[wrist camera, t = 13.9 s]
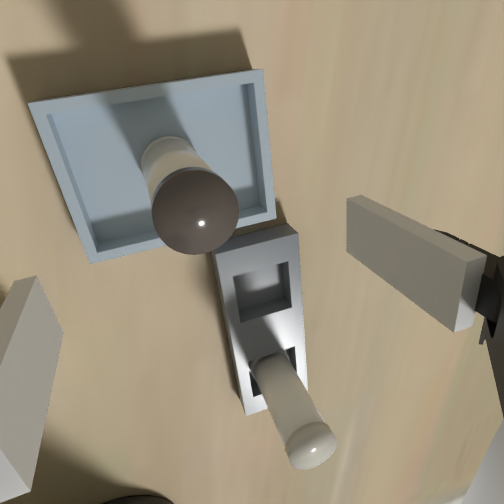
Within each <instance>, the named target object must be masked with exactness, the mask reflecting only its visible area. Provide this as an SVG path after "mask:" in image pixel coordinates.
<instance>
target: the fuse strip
mask: <svg viewBox="0 0 504 504" xmlns="http://www.w3.org/2000/svg"><path fill="white" fill-rule="evenodd" d="M211 253H212V259H213V264H214V269H215V274H216V279H217V284H218V289H219V294H220V299H221V305H222V310H223V315H224V320H225V325H226V330H227V335H228V340H229V345H230V351H231V356H232V361H233V366H234V371H235V376H236V381H237V386H238V391H239V397H240V401H241V403H242V406H243V409H244V412H245V414H246V416H248V415H251V414H253V413H256V412H259V411H262V410H264V409H267V408H268V407H267V405H266V403H265V400H264V398H263V396H262V393H261V391H260V389H259V387H258V384H257V382H256V380H255V379H254V377H253V375H252V373H251V370H250V368H249V361H252V360H255V359H258V358H261V357H264V356H267V355H270V354H273V353H276V352H279V351H282V350H285V352H286V354H287V355H288V357H289V360H290V362H291V364H292V366H293V367H294V369H295V371H296V373H297V374H298V376H299V378H300V379H301V381H302V383H303V385H304V386H305V388H306V390H307V391H308V386H307V370H306V353H305V337H304V320H303V304H302V287H301V270H300V254H299V237H298V232H296V231H295V230H294V229H293V228H292V227H291V226H290V225H289V224H288V223H287V224H283V225H279V226H275V227H271V228H267V229H263V230H259V231H255V232H251V233H247V234H243V235H239V236H235V237H231V238H229V239H228V240H227V241H226V242H225V243H224V244H223V245H221V246H220V247H219V248H217V249H215V250H213V251H211Z"/></svg>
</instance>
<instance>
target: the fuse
mask: <svg viewBox="0 0 504 504" xmlns="http://www.w3.org/2000/svg"><path fill="white" fill-rule="evenodd" d="M249 368H250V370H251V373H252V375H253V377H254V379H255V380H256V382H257V384H258V387H259V389H260V391H261V393H262V396H263V398H264V400H265V403H266V405H267V407H268V409H269V412H270V414H271V416H272V419H273V421H274V423H275V425H276V428H277V430H278V432H279V435H280V437H281V439H282V441H283V444H284V446H285V451H286V453H287V456H288V458H289V460H290V463H291V465H292V466H293V467H294V468H296V469H301V470H304V469H310V468H313V467H315V466H318V465H319V464H321V463H323V462H324V461H326V460H327V459H328V458H329V457H330V456H331V455H332V454H333V452H334V451H335V449H336V446H337V439H336V437H335V436H334V434H333V432H332V431H331V429H330V427H329V426H328V425H327V424H326V422H325V421H324V419H323V417H322V416H321V414H320V412H319V410H318V409H317V407H316V405H315V403H314V402H313V400H312V398H311V397H310V395H309V393H308V391H307V390H306V388H305V386H304V385H303V383H302V381H301V379H300V378H299V376H298V374H297V373H296V371H295V369H294V367H293V366H292V364H291V362H290V360H289V357H288V355H287V354H286V352H285V350H282V351H279V352H276V353H273V354H270V355H267V356H264V357H261V358H258V359H255V360H252V361H249Z"/></svg>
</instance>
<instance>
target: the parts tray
mask: <svg viewBox="0 0 504 504" xmlns="http://www.w3.org/2000/svg"><path fill="white" fill-rule="evenodd" d="M28 106H29V108H30V111H31V114H32V116H33V119H34V121H35V124H36V126H37V129H38V132H39V134H40V137H41V139H42V142H43V144H44V147H45V150H46V152H47V155H48V157H49V160H50V162H51V165H52V168H53V170H54V173H55V175H56V178H57V180H58V183H59V186H60V188H61V191H62V193H63V196H64V198H65V201H66V204H67V206H68V209H69V211H70V214H71V216H72V219H73V222H74V224H75V227H76V229H77V232H78V234H79V237H80V240H81V242H82V245H83V247H84V250H85V252H86V255H87V258H88V260H89V263H90V264H92V263H96V262H101V261H105V260H109V259H113V258H117V257H121V256H125V255H129V254H133V253H137V252H141V251H145V250H150V249H154V248H158V247H162V246H166V244H165V243H164V242H163V241H162V240H161V239H160V237H159V236H158V234H157V232H156V230H155V227H154V224H153V219H152V214H151V202H150V198H149V194H148V189H147V185H146V181H145V179H144V177H143V174H142V169H141V156H142V153H143V151H144V149H145V147H146V146H147V145H148V144H149V143H150V142H151V141H152V140H153V139H155V138H157V137H160V136H164V135H174V136H178V137H181V138H183V139H184V140H186V141H187V142H189V143H190V144H191V145H192V147H193V148H194V149H195V150H196V151H197V153H198V155H199V156H200V157H201V158H202V159H203V160H204V161H205V163H206V164H207V165H208V166H209V167H210V168H211V169H212V170H213V171H214V172H215V173H216V174H218V175H219V176H220V177H222V178H223V179H224V181H225V182H226V183H227V184H228V185H229V186H230V187H231V188H232V190H233V191H234V193H235V195H236V197H237V200H238V204H239V219H238V223H237V226H236V228H239V227H244V226H248V225H252V224H256V223H260V222H264V221H268V220H272V219H276V207H275V196H274V185H273V174H272V163H271V152H270V141H269V130H268V119H267V108H266V97H265V86H264V75H263V69H249V70H243V71H236V72H229V73H222V74H215V75H208V76H201V77H194V78H187V79H180V80H173V81H167V82H160V83H153V84H146V85H139V86H132V87H125V88H118V89H111V90H104V91H97V92H91V93H84V94H77V95H70V96H63V97H56V98H49V99H42V100H35V101H33V102H30V103H28Z"/></svg>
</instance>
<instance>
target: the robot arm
mask: <svg viewBox="0 0 504 504" xmlns="http://www.w3.org/2000/svg"><path fill="white" fill-rule="evenodd" d="M347 252H348V253H349V254H351V255H352V256H353V257H354V258H356V259H357V260H358V261H360V262H361V263H362V264H364V265H365V266H366V267H368V268H369V269H370V270H372V271H373V272H374V273H376V274H377V275H378V276H380V277H381V278H382V279H384V280H385V281H386V282H387V283H389V284H390V285H391V286H393V287H394V288H395V289H397V290H398V291H399V292H401V293H402V294H403V295H405V296H406V297H407V298H409V299H410V300H411V301H413V302H414V303H415V304H417V305H418V306H419V307H420V308H422V309H423V310H424V311H426V312H427V313H428V314H430V315H431V316H432V317H434V318H435V319H436V320H438V321H439V322H440V323H442V324H443V325H444V326H446V327H447V328H448V329H450V330H451V331H452V332H453V333H455V332H458V331H460V330H463V329H466V328H468V327H471V326H472V325H473V320H474V315H475V311H476V312H478V313H480V314H481V315H483V316H484V317H485V318H484V322H483V327H482V331H481V335H480V340H479V344H482V345H483V341H484V340H485V339H486V342H487V347H488V351H489V356H490V360H491V364H492V369H493V373H494V377H495V382H496V386H497V391H498V395H499V399H500V404H501V408H502V412H503V417H504V256H502V257H498V256H496V255H494V254H491V253H489V252H487V251H485V250H483V249H481V248H479V247H477V246H474V245H472V244H468V242H466V241H464V240H462V239H460V240H459V238H457V237H455V236H453V235H451V234H449V233H446V232H442V231H438V230H434V229H431V228H429V227H427V226H425V225H423V224H421V223H419V222H417V221H415V220H413V219H410V218H408V217H406V216H404V215H402V214H400V213H398V212H396V211H394V210H392V209H390V208H388V207H385V206H383V205H381V204H379V203H377V202H375V201H373V200H371V199H369V198H367V197H365V196H363V195H359V196H355V197H351V198H347ZM63 333H64V332H63V330H62V328H61V326H60V324H59V322H58V320H57V318H56V315H55V313H54V311H53V309H52V307H51V305H50V303H49V301H48V299H47V296H46V294H45V292H44V290H43V288H42V286H41V284H40V282H39V280H38V277H37V276H33V277H29V278H25V279H21V280H17V281H14V282H13V284H12V286H11V288H10V290H9V292H8V294H7V296H6V298H5V300H4V302H3V304H2V306H1V308H0V503H1V502H4V501H7V500H9V499H12V498H15V497H17V496H20V495H23V494H25V493H28V492H31V488H32V483H33V478H34V473H35V468H36V463H37V459H38V454H39V449H40V444H41V439H42V435H43V430H44V425H45V420H46V415H47V410H48V406H49V401H50V396H51V391H52V386H53V381H54V377H55V372H56V367H57V362H58V357H59V352H60V348H61V343H62V338H63ZM106 504H172V503H171V502H169V501H168V500H165V499H163V498H159V497H153V496H134V497H128V498H123V499H118V500H115V501H112V502H109V503H106Z"/></svg>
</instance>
